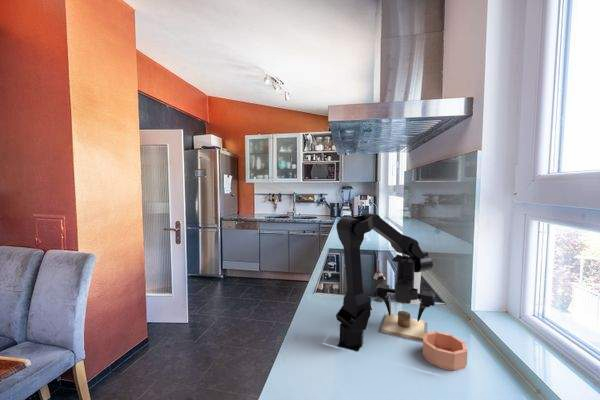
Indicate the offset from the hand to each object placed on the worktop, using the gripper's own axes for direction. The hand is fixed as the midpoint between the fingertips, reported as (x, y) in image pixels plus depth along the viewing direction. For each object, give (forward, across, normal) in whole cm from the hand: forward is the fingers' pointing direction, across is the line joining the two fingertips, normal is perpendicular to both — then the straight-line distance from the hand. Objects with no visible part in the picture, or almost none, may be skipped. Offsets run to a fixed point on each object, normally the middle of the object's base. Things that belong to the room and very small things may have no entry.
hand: (403, 318), depth 97 cm
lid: (+3, 0, 0) cm, 3 cm away
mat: (+4, 0, 0) cm, 4 cm away
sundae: (+4, -12, +20) cm, 24 cm away
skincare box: (+4, 0, +26) cm, 26 cm away
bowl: (+4, +12, -13) cm, 18 cm away
